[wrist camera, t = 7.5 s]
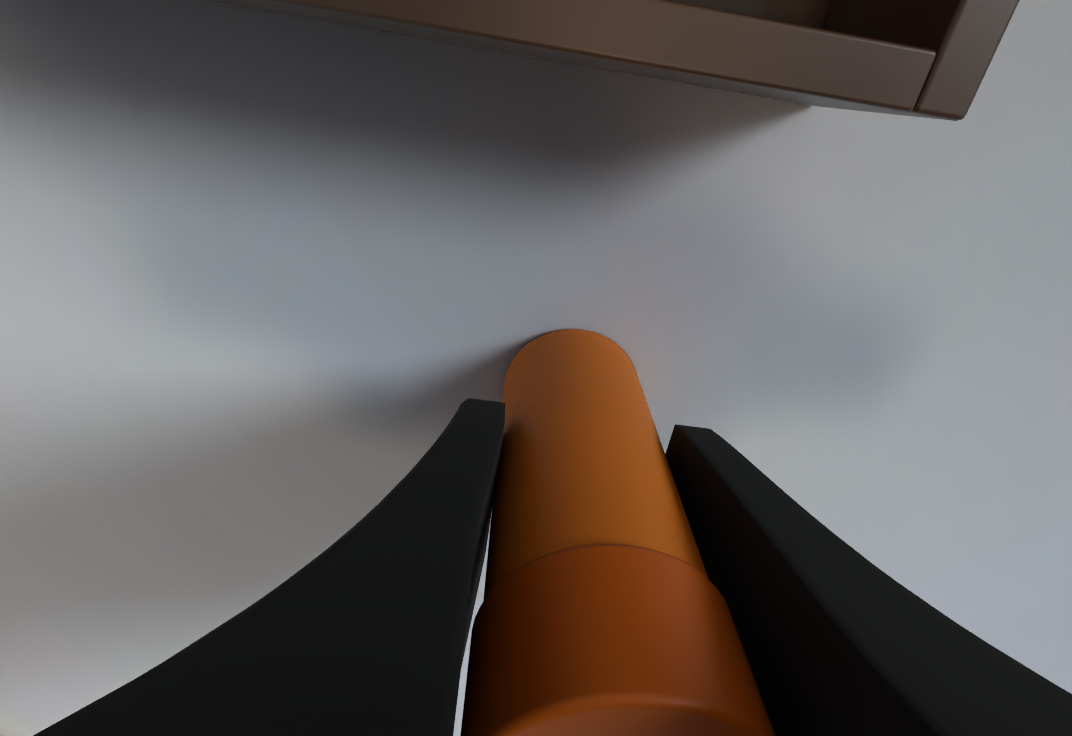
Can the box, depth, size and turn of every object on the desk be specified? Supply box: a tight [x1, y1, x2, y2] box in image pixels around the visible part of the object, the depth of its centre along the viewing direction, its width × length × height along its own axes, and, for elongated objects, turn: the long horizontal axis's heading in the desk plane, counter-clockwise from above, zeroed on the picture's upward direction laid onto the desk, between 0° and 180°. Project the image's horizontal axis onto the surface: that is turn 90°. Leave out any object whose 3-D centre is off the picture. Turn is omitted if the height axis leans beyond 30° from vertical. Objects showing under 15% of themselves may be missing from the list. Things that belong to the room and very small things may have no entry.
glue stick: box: [461, 329, 775, 736], centre depth 8 cm, size 3×3×8 cm
